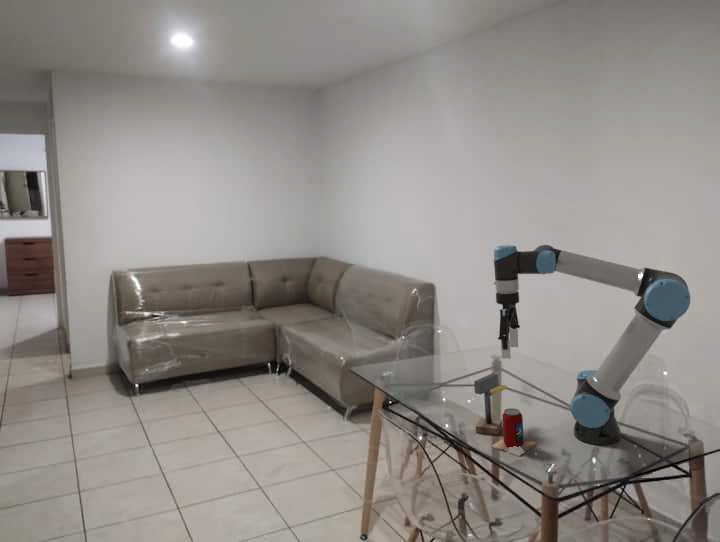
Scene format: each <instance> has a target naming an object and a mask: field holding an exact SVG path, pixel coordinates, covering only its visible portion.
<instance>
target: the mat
mask: <svg viewBox="0 0 720 542" xmlns="http://www.w3.org/2000/svg"><path fill="white" fill-rule="evenodd" d="M537 445H538V444H537V442H535V441H531V440H528V439H525V438H524V443H523V445H521V446H520V447H521V448H522V449H523V451H526V452H528V451H529V450H531V449H532V448H533V447H535V446H537ZM491 449H494V450H498V451H501V452H504V453H507V452H509V446H507V445H505V444H504V438H503V437H502V439H500V440H498V441H497V442H495V443H494V444H492V445H491Z"/></svg>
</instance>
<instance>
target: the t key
mask: <svg viewBox="0 0 720 542" xmlns="http://www.w3.org/2000/svg"><path fill="white" fill-rule="evenodd" d="M473 383H474V393H475V395H476V394H477V395H483V398H484V399H483V400H484V415H485V418H486V423H488V424H490V423H492V419H493V417H492V402H491V401H492V400H491V398H492V396H495V395H497V394H499V393H500V392H503V391H505V390H507V389H508V385H504V384H500V385H499V374H497V373H493V372H492V373H490V374H487V375H486V376H484V377H481V378H479V379H476V380H474V382H473Z"/></svg>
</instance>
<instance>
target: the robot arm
mask: <svg viewBox="0 0 720 542" xmlns="http://www.w3.org/2000/svg"><path fill="white" fill-rule="evenodd" d="M493 266H494V279H495V281H494V282H493V285H495V291H496V292H495V301H496V304H498V305H502V308H501V309H500V310H499V314H500V317H499V333H498V334H499V336H498V337H497V339H498V340H500V345H501V359H504V360H505V359H507V360H508V359H509V360H510V359H511V348H519V332H518V329H520V327H521V326H520V324H519V319H518V312H517V307H516V306H517V305H516V304H518V303H520V294H519V287H520V286H519V285H520V284H519V276H518V275H548V274H549V275H550V274H551V275H552V274H553V273H554V272H557V273H560V274H564V275H568V276H572V277H577V278H580V279H583V280H588V281H591V282H595V283H599V284H603V285H606V286H611V287H614V288H618V289H621V290H626V291H629V292H632V293H633V294H634V295H635V297H640V299H638V302H637V303H636V304H635V305H634V308H633V309H634V312H635V315H634V317H633V318H632V320H631V321H630V323H629V324H628V326H627V327H626V328H625V330H624V331H623V333H622V334H621V336H620V337H619V338H618V340H617V341H616V343H615V345H614V346H613V347H612V349H611V350H610V352H609V354H608V355H607V356H606V357H605V359H604V361H603V362H602V364H601V365H600V367H599V368H598V369H597V370H596V369H593V370H592V369H588V370H581V371H579V372H578V373H577V375H576V381H577V383H576V385H577V386H576V390H575V392H574V395H573V397H572V399H571V401H570V413H571V415H572V417H573V419H574V420H575V423H574V426H573V435H574V437H575V438H576V439H577V440H579V441H581V442H582V443H586V444H592V445H596V446H597V445H599V446H601V445H602V446H603V445H604V446H605V445H612V444H614V443H617V442H619V441H620V440H621V438H622V436H621V429H620V426H619V422H618V421H617V418H616V414H615V407H616V406H617V404H618V403H619V401H620V400H621V398H622V396H621V390H622V388H623V386H624V385H625V384H626V382H627V381H628V379H629V378H630V377H631V376H632V374H633V373H634V371H635V369H637V367H638V365H640V362H641V361H642V360H643V359H644V357H645V356H646V354H647V353H648V352H649V350H650V349H651V347H652V346H653V345H654V343H656V340H657V339H658V338H659V336H660V335H661V333H662V332H663V331H667V330H670V329H672V327H673V326H674V325H675V324H676V322H677V321H678V320H679V319H680V318H681V317H683V316H684V315H685V314H686V313H687V312H688V310H689V307H690V305H691V295H690V294H691V293H690V291H689V287H688V286H689V285H688V284H687V282H686V280H685V279H683V277H682V276H680V275H678V274H676V273H674V272H671V271H664V270H660V269H654V268H648V267H642V268H635V267H632V266H628V265H624V264H619V263H615V262H611V261H607V260H603V259H598V258H596V257H595V258H594V257H591V256H587V255H582V254H579V253H575V252H570V251H566V250H561V249H558V248H555V247H553V246H551V245H548V244H544V245H538V246H537V247H535V249H534V250H531V251H530V250H529V251H527V250H525V251H518V249H517V246H516V245H510V244H507V245H498V246H496V247H495V248H494V249H493Z"/></svg>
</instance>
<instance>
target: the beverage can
mask: <svg viewBox="0 0 720 542" xmlns="http://www.w3.org/2000/svg"><path fill="white" fill-rule="evenodd" d="M501 420H502V435H503V437H502V439H503V438H504V444H505V445H507V446H509V447H513V446H517V447H519V446H521V445H523V443H524V439H525V438H524V436H525V435H524V422H523V421H524V420H523V414H522V413H521V411H520V409H517V408H506V409H505V410H504V411H503V414H502V415H501Z"/></svg>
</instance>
